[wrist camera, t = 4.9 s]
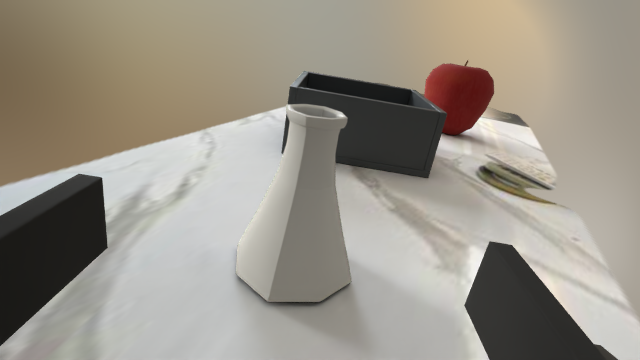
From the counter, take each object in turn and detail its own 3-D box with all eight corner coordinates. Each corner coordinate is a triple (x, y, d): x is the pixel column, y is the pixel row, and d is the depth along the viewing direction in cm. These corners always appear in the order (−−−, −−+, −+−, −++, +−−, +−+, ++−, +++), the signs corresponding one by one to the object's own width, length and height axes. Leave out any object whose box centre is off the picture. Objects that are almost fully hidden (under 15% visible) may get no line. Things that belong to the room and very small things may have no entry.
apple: (480, 134, 72) (504, 66, 67) (474, 145, 62) (501, 66, 57) (422, 119, 77) (440, 54, 72) (407, 127, 67) (427, 52, 62)
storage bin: (281, 153, 42) (289, 86, 39) (297, 120, 59) (303, 70, 56) (428, 178, 43) (447, 113, 40) (403, 138, 59) (415, 90, 56)
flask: (219, 243, 24) (229, 91, 20) (315, 230, 27) (338, 98, 24) (256, 322, 18) (279, 130, 14) (371, 292, 22) (414, 132, 18)
